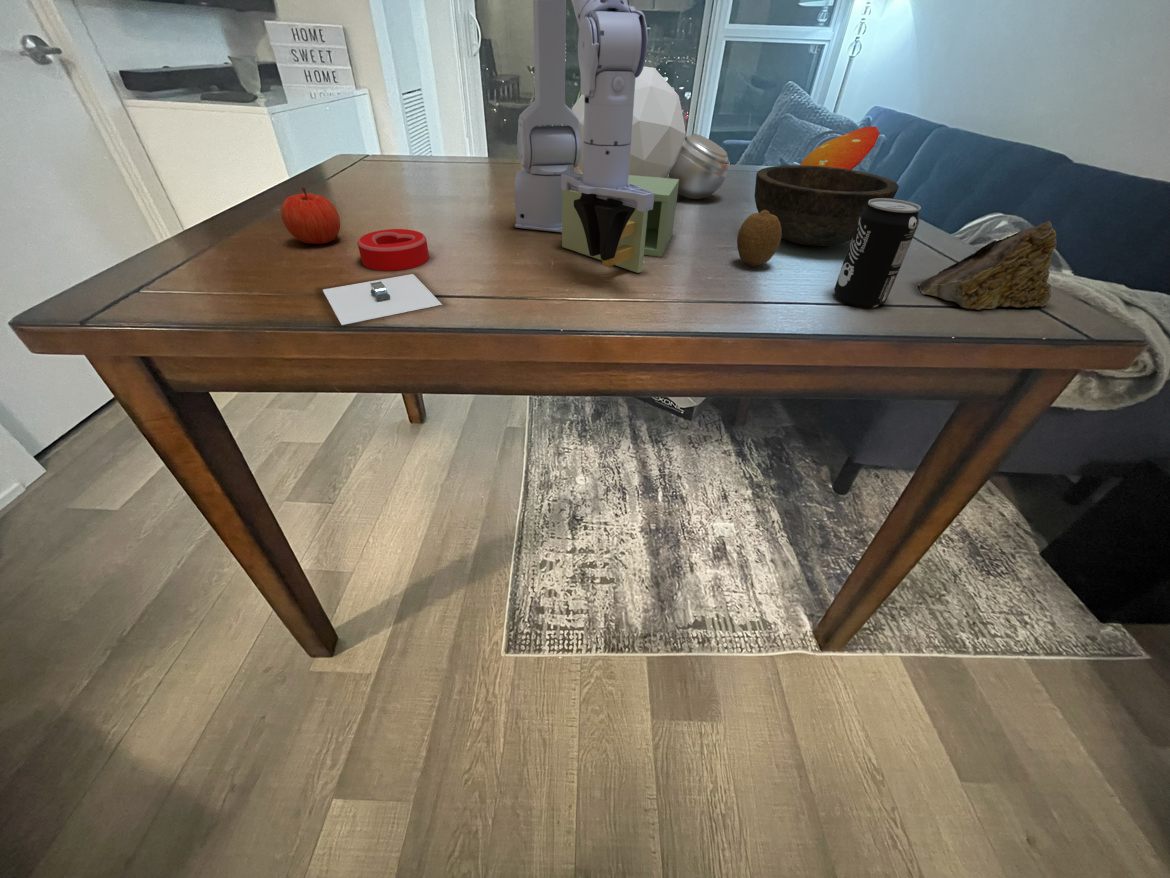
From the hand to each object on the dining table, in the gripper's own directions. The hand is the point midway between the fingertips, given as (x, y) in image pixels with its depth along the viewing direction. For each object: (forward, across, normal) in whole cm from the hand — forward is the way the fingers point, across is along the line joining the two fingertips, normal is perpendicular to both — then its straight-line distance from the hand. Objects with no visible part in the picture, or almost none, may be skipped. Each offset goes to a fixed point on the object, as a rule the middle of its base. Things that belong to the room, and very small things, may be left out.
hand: (601, 256), depth 68 cm
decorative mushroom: (+4, 0, +65) cm, 65 cm away
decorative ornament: (+4, -26, -18) cm, 32 cm away
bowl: (+4, +11, +41) cm, 42 cm away
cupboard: (+3, -11, +16) cm, 19 cm away
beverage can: (+3, +28, +22) cm, 35 cm away
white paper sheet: (+3, -14, -26) cm, 30 cm away
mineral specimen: (+3, +38, +37) cm, 53 cm away
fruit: (+4, +11, +22) cm, 25 cm away
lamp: (+4, -28, +43) cm, 52 cm away
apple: (+4, -41, -23) cm, 47 cm away
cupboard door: (+3, -6, +3) cm, 8 cm away
